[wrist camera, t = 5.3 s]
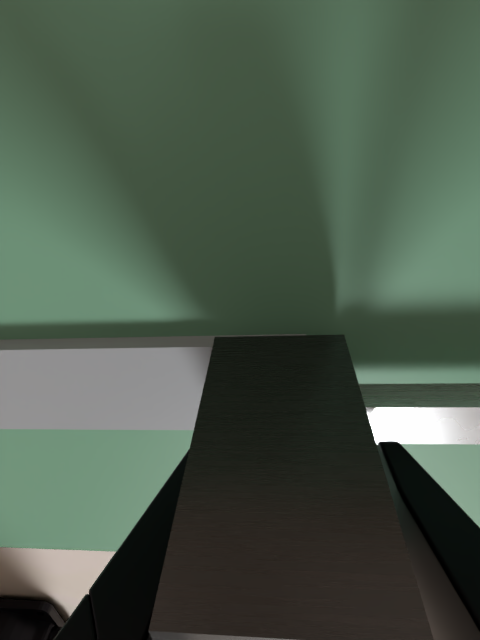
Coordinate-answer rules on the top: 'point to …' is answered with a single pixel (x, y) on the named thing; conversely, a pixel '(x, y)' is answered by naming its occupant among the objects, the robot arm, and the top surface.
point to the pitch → (221, 226)
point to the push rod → (299, 497)
